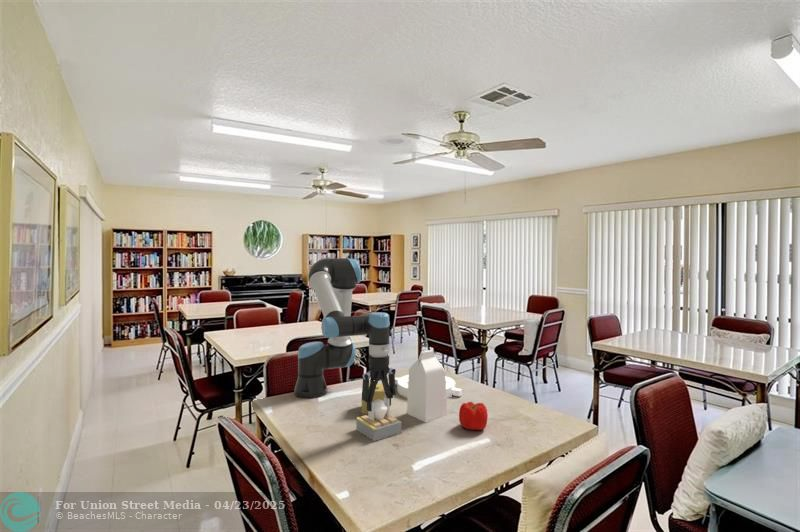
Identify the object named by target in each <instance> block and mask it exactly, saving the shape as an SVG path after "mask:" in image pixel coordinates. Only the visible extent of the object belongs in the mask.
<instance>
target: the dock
mask: <svg viewBox="0 0 800 532" xmlns="http://www.w3.org/2000/svg"><path fill="white" fill-rule="evenodd" d="M356 429H357V431H358V432H359V431H360V432H359V433H361V434H362V433H363V434H362V435H364V436H365V435H366V436H367V437H366V436H365V437H366V438H368V437H369V438H370V439H369V438H368V439H369V440H371V439H372V440H373V442H377V441H379V439H380V440H384V439H386V437H387V438H389V436H390V437H392V436H396V435H399V434H402V421H401V420H399V419H398V418H395V416H392V415H391V414H390V416H386V415H385V416H384V418H383V419H375V418H374V420H373V421H372V420H370V419H369V418H368V414H363V415H362V416H357V417H356ZM383 438H384V439H383ZM372 440H371V441H372ZM376 440H377V441H376Z"/></svg>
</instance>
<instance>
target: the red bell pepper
mask: <svg viewBox="0 0 800 532" xmlns="http://www.w3.org/2000/svg"><path fill="white" fill-rule="evenodd" d="M488 416H489V415H488V409H487V406H486V404H484V403H483V402H477V403H474V402H473V401H468V402H463V403H462V404H460V407H459V413H458V420H459V423H460V424H459V425H460V426H462V427H463V428H464V429H466V430H469V431H470V430H472V431H473V430H475V431H481V430H484V429H486V428H487V423H488Z"/></svg>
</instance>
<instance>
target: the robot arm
mask: <svg viewBox="0 0 800 532" xmlns="http://www.w3.org/2000/svg"><path fill="white" fill-rule="evenodd" d="M307 278H308V283H309V285H310V288H312V289H313V290H314V292H315V296H316V298H317V301H318V304H319V305H318V306H319V307H320V311H321V312H322V315H323V319H322V320H321V333H322V336H323V337H324V338H328V339H327V344H324V342H322V341H312V342H306V343H304V344H302V345H300V346H299V348H298V353H297V361H298V362H297V366H298V367H297V380H296V382H295V386H294V390H293V391H294V396H296V397H298V398H302V399H312V398H318V397H322V396H324V395H326V394H327V393H328V386H327V383H326V380H325V377H324V370H331V369H341V368H343V369H344V368H347V367H350V366H352V365H353V364H354V361H355V359H356V352H357V351H356V345H355V344H354V342H353V341H352V339H351V338H350V337H353V336H354V337H356V336H368V354H369V355H368V367H369V369H368V371H367V372H366V373H364V372H363V373H362V374H361V378H362V385H361V386H362V388H361V401H362V400H363V401H365V402H367V411H368V414H367V416H368V418H369V419H370V420H372V421H373V420H374V402H372V400H373V396H374V392H375V388H376V385H377V384H379V381H381V384H382V385H383V388H384V391H385V395H386V397H384V404H385V405H386V406H387V412H386V414H385V415H386V416H390V415H391V414H390V407H391V406H392V399H393V397H394V396H395V395H396V393H397V392H396V391H397V390H396V384H395V378H396V377H395V376H396V370H397V369H395V368H393V367H389V366H390V355H389V354H390V325H391V324H390V323H391V322H390V314H388V313H387V312H382V311H381V312H379V311H377V312H371V313H362V314H360V315H351V314H352V301H353V291H355V290H356V289H357V284H360V283H361V280H362V269H361V266H360V263H359V262H358V260H357V259H355V258H339V257H336V258H328V257H326V258H325V257H324V258H321V259H318V260H317V261H315V262H314V263H313V265H312V266H311V267H310V269H309V271H308V275H307ZM387 375H388V376H387ZM369 383H370V386H369Z"/></svg>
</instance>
